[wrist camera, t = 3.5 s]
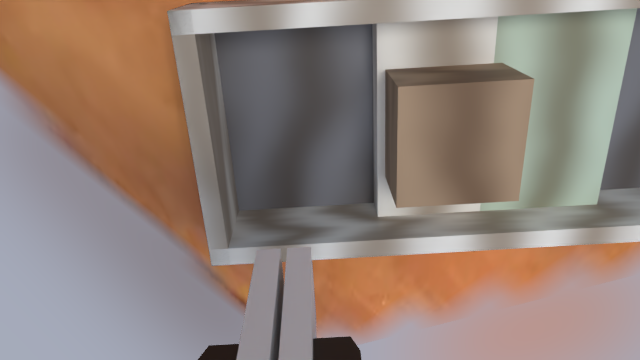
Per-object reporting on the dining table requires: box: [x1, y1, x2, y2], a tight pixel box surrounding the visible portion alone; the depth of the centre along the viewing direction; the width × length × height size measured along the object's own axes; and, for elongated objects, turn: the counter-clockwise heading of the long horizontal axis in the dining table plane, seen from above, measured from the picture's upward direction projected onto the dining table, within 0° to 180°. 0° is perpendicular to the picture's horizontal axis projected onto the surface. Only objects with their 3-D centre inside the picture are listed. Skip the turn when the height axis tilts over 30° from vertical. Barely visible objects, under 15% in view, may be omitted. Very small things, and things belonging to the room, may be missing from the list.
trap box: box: [167, 0, 640, 266], centre depth 30 cm, size 36×15×6 cm, turn 93°
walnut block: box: [385, 63, 534, 208], centre depth 28 cm, size 7×7×4 cm
